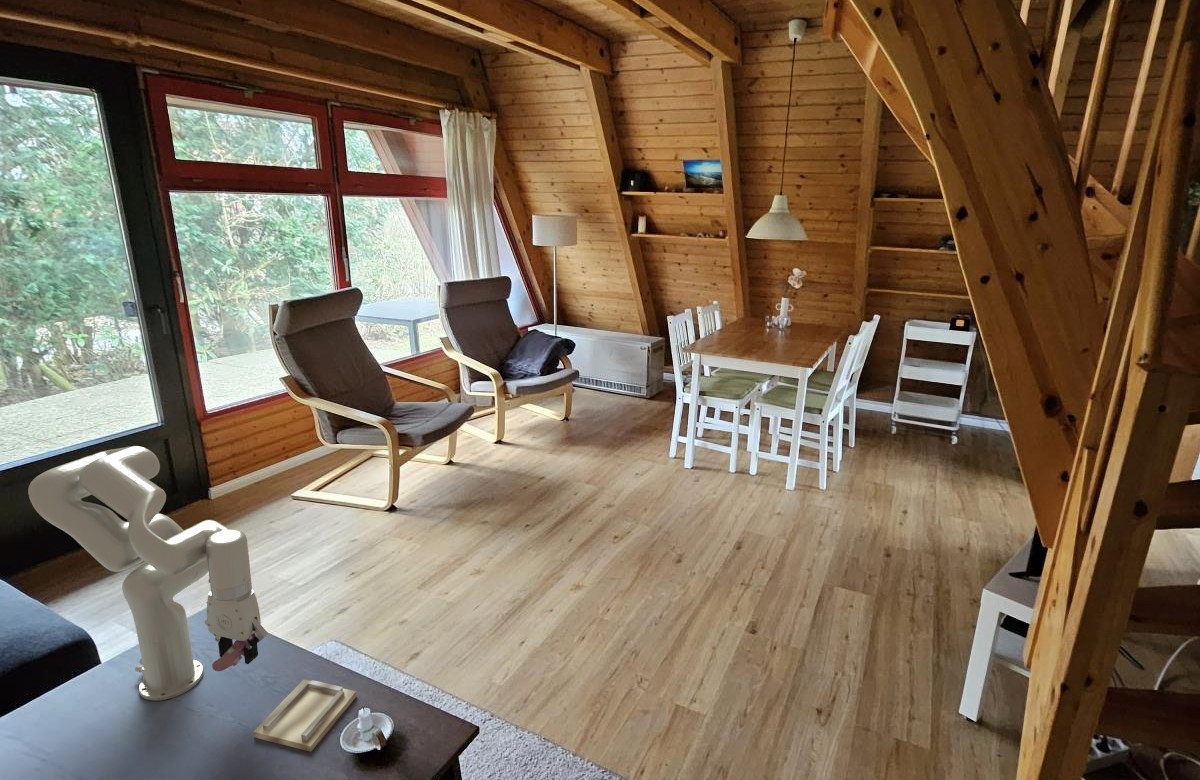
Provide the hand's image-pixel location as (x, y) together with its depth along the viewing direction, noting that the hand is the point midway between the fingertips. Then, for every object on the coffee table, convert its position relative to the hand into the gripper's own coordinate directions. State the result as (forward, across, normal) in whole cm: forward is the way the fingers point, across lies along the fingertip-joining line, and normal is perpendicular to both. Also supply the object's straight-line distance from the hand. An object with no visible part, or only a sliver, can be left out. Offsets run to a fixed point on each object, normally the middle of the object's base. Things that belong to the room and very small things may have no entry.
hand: (239, 655), depth 139 cm
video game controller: (+1, 0, 0) cm, 1 cm away
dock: (+12, +16, 0) cm, 20 cm away
